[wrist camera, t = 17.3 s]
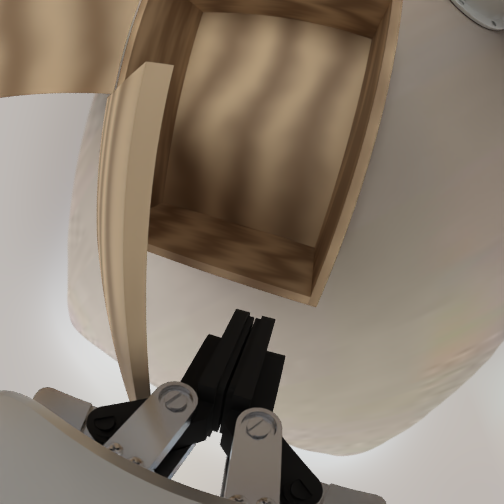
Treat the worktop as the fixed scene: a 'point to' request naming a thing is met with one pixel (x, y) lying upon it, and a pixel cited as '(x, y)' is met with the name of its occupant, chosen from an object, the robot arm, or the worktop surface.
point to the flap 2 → (129, 213)
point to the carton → (263, 131)
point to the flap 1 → (62, 45)
